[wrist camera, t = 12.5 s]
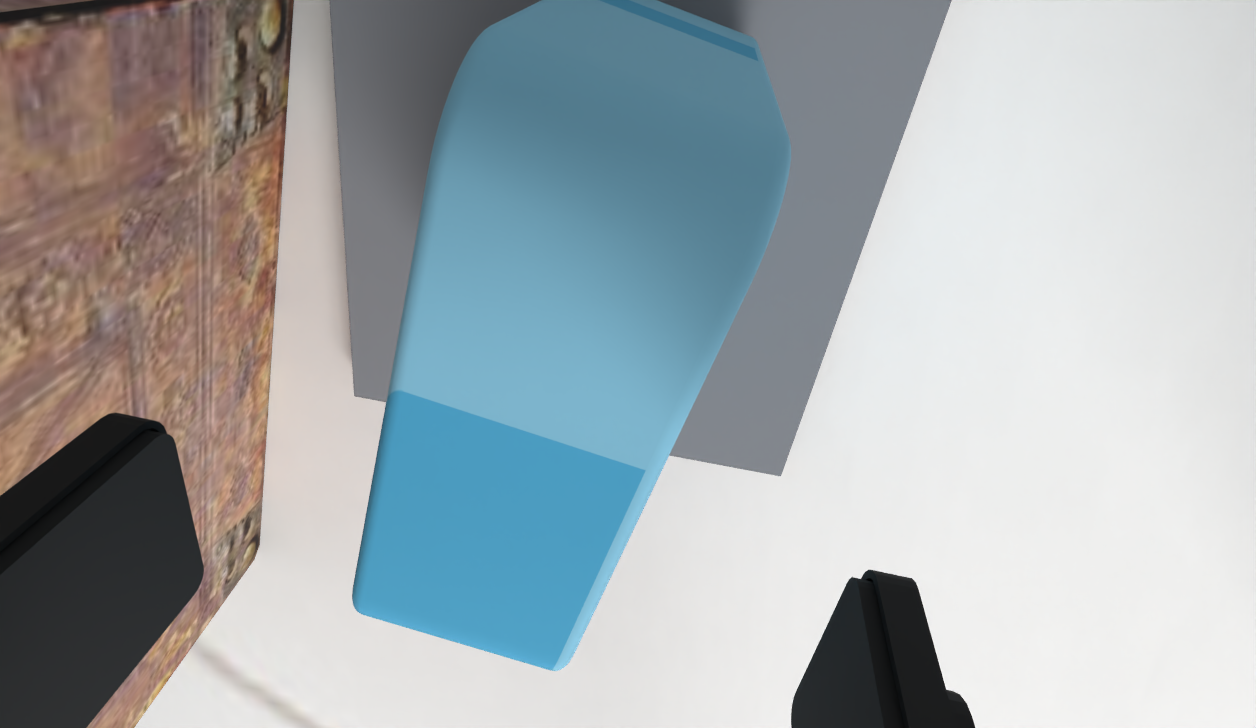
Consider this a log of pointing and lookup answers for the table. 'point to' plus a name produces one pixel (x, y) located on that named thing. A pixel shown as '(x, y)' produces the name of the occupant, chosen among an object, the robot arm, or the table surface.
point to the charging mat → (802, 236)
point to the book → (145, 256)
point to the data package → (563, 312)
